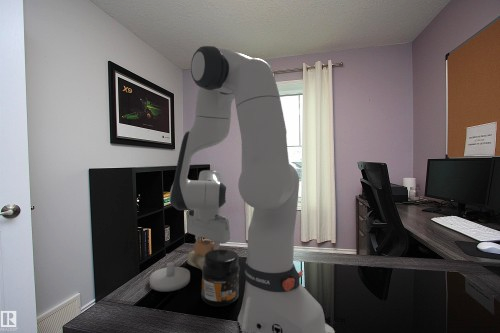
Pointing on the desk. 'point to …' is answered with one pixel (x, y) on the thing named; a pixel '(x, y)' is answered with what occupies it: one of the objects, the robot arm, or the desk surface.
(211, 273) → the supplement container
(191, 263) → the stand
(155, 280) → the hub
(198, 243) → the orange square hollow block
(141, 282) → the desk surface
